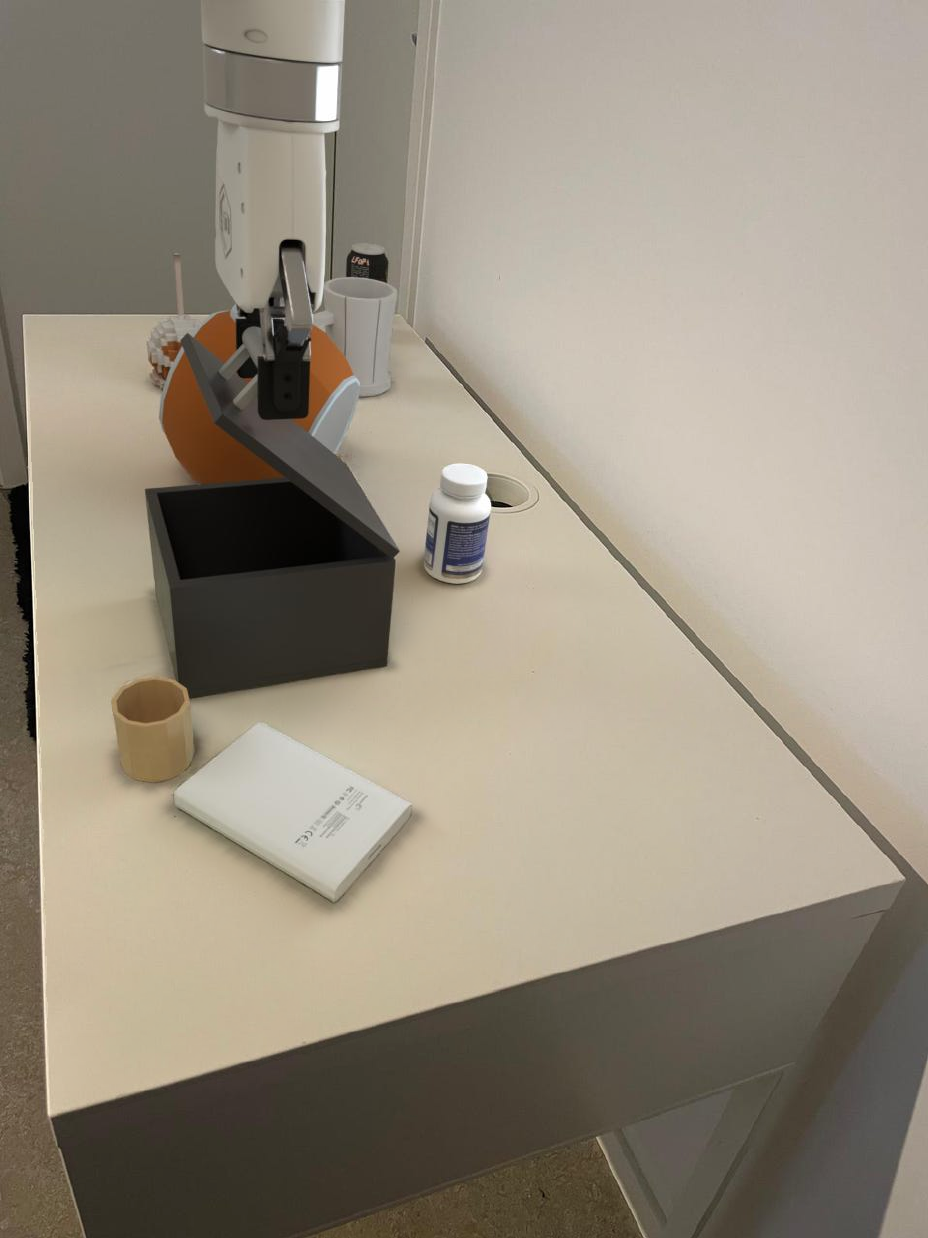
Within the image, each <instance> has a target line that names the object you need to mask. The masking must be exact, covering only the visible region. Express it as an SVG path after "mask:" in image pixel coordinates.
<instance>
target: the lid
mask: <svg viewBox="0 0 928 1238" xmlns="http://www.w3.org/2000/svg"><path fill="white" fill-rule="evenodd" d="M242 341H243V344H242V345H241V346H240V347H239V349H238V350H237V351H236V352H235V353H234V354H233V355H232V356H231V357H230V358H229V360H228V361H227V362H226V363H224V362H222V361H221V360H220V359H219V358H218V357H216V356H215V355H214V354H213V353H212V352H210V351H209V350H208V349H207V348H205V347H204V346H203V345H202V344H201V343H199V342H198V341H197V340H196V339H195V338H193V337H192V336H191V335H190V334H189V333H187V334H186V335H185V336H184V337H183V338H182V339H181V340H180V342H181V344H182V347H183V349H184V351H185V354H186V356H187V359H188V361H189V363H190V366H191V368H192V371H193V373H194V376H195V378H196V380H197V383H198V385H199V388H200V390H201V393H202V395H203V397H204V400H205V402H206V405H207V407H208V409H209V412H210V414H211V417H212V419H213V422H214V424H216V425H217V426H218V427H220V428H221V429H222V430H224V431H225V432H226V433H228V434H229V435H230V436H232V437H233V438H234V439H235V440H237V441H238V442H239V443H241V444H242V445H243V446H245V447H246V448H247V449H249V450H250V451H251V452H253V453H254V454H255V455H256V456H258V457H259V458H260V459H262V460H263V461H264V462H266V463H267V464H268V465H270V466H271V467H272V468H274V469H275V470H276V471H278V472H279V473H280V474H281V475H283V476H284V477H285V478H287V479H288V480H289V481H291V482H292V483H293V484H295V485H296V486H297V487H299V488H300V489H301V490H302V491H304V492H305V493H306V494H308V495H309V496H310V497H312V498H313V499H314V500H316V501H317V502H318V503H320V504H321V505H322V506H323V507H325V508H326V509H327V510H329V511H330V512H331V513H333V514H334V515H335V516H337V517H338V518H339V519H341V520H342V521H343V522H344V523H346V524H347V525H348V526H350V527H351V528H352V529H354V530H355V531H356V532H358V533H359V534H360V535H362V536H363V537H364V538H366V539H367V540H368V541H369V542H371V543H372V544H373V545H375V546H376V547H377V548H379V549H380V550H381V551H383V552H384V553H385V554H387V555H388V556H389V557H390V558H392V559H393V558H394V559H395V557H397V555H399V554H400V553H401V550H400V549H399V547H398V546H397V544H396V542H395V541H394V539H393V537H392V536H391V534H390V533H389V531H388V529H387V527H386V526H385V525H384V522H383V521H382V520H381V518H380V516H379V515H378V513H377V511H376V509H375V508H374V506H373V505H372V503H371V502H370V500H369V499H368V497H367V495H366V493H365V491H364V490H363V489H362V487H361V486H360V484H359V482H358V481H357V479H356V477H355V476H354V474H353V472H352V471H351V469H350V467H349V466H348V464H347V463H346V462H345V461H344V460H342V459H341V458H340V457H339V456H338V455H335V454H334V453H332V452H331V451H330V450H329V449H328V448H326V447H325V446H324V445H323V444H322V443H320V442H319V441H318V440H317V439H316V438H314V437H313V436H312V435H311V434H309V433H308V432H307V431H306V430H305V429H303V428H302V427H301V426H300V425H299V424H297V423H296V422H295V421H294V420H293V419H277V420H263V419H261V418H260V416H259V414H258V374H257V375H256V376H255V377H254V378H253V379H252V380H251V381H250V382H249V383H248V382H247V381H245V380H244V379H243V378H240V377H239V375H238V374H237V373H236V371H237V370H238V369H239V368H240V367H241V365H242V364H243V363H244V362H245V361H246V360H247V359H248V358H249V357H250V356H251V358H252V360H253V362H254V363H255V365H256V367H257V369H258V357H257V356H263V349H262V337H261V328H259V327H254V326H253V327H249V328H247V329H246V330H245V331H244V333H243V335H242Z"/></svg>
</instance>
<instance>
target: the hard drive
mask: <svg viewBox="0 0 928 1238" xmlns="http://www.w3.org/2000/svg"><path fill="white" fill-rule="evenodd" d="M173 803H174V807H175V808H178V809H180V810H181V811H182V812H185V813H186V814H187V815H189V816H191V817H193V818H194V819H196V820H198V821H199V822H201V823H202V824H204V825H206V826H207V827H209V828H211V829H213V830H214V831H216V832H218V833H219V834H220V835H222V836H224V837H225V838H227V839H229V840H230V841H232V842H234V843H235V844H237V845H239V846H240V847H242V848H244V849H246V850H247V851H248V852H251V854H254V855H255V856H257V857H258V858H259V859H261V860H263V861H265V862H267V863H268V864H271V865H272V866H273V867H274V868H277V869H278V870H280V871H282V872H283V873H285V874H286V875H288V876H289V877H291V878H293V879H294V880H296V881H298V882H299V883H301V884H302V885H304V886H306V887H308V888H309V889H311V890H313V891H315V892H316V893H318V894H320V896H322V897H323V898H325V899H327V900H329V901H331V902H332V903H336V902H337V901H338V900H339V899H341V897H343V895H344V894H345V893H346V892H347V891H348V889H349V888H350V887H351V886H352V885H353V884H354V883H355V882H356V880H357V879H358V878H360V876H361V875H362V874H363V873H364V871H365V870H366V869H367V868H368V867H369V865H370V864H371V863H372V862H373V861H374V860H375V859H376V858H377V856H378V855H379V854H380V853H381V852H382V851H383V849H385V847H386V846H387V845H388V844H389V843H390V842H391V840H392V839H393V838H394V837H395V836H396V834H398V832H399V831H400V830H401V829H402V827H404V826H405V824H406V823H407V822H408V821H409V818H410V817H411V816H412V815H411V814H412V807H413V804H412V803H410V801H407V800H405V799H403V798H402V797H401V796H398V795H396V794H394V793H392V792H390V791H389V790H387V789H386V788H383V787H381V786H379V785H378V784H376V783H374V782H373V781H370V780H368V779H367V778H365V777H363V776H362V775H359V774H358V773H356V772H354V771H352V770H350V769H348V768H347V767H345V766H343V765H341V764H339V763H337V762H335V761H334V760H332V759H330V758H328V757H326V756H324V755H323V754H321V753H319V752H317V751H316V750H314V749H312V748H310V747H308V746H306V745H304V744H303V743H301V742H299V741H297V740H296V739H294V738H291V737H290V736H288V735H286V734H285V733H282V732H281V731H278V730H277V729H275V728H273V727H271V726H269V725H268V724H266V723H263V722H261V721H259V722H257V723H255V724H253V726H251V727H250V728H249V729H247V730H246V731H245V732H244V733H243V734H241V736H239V737H238V738H236V739H235V741H233V742H232V743H230V744H229V745H228V746H227V747H225V749H223V750H222V751H221V752H220V753H218V754H217V755H216V756H215V757H214V758H212V759H211V760H210V761H209V762H207V763H206V764H205V765H203V766H202V767H201V768H200V769H199V770H197V771H196V772H195V773H194V774H193V775H191V776H190V777H189V778H188V779H186V780H185V781H184V782H183V783H182V784H181V785H180V786H178V787H177V788H176V789H175V790H174V791H173Z"/></svg>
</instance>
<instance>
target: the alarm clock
mask: <svg viewBox="0 0 928 1238" xmlns="http://www.w3.org/2000/svg"><path fill="white" fill-rule="evenodd" d="M281 306H285V304H284V303H281ZM236 319H245V317H238V315H237V309H236V303H234V305H232V308H231V309H230V310H227V309H226V310H221V311H216V312H211V314H209V315H208V316H207V317H206V318H205V319H203V320H202V321H200V322H201V323H200V324H198V325H197V326H196V328H195V329H194V331H193V332H192V333H191V336H192V337H193V338H195V339H196V340H197V341H198V342H199V343H201V344H202V345H203V346H204V347H205V348H207V349H208V350H209V351H210V352H212V353H213V354H214V355H215V356H216V357H218V358H219V359H220V360H221V361H222V362H224V363H226V362H227V361H228V360H229V358H230V357H231V356H232V355H233V354H234V353H235V352H236ZM273 319H283V320H284V319H285V318H273ZM284 326H285V324H284ZM310 338H311V341H310V347H311V359H310V387H309V413H308V416H307V417H305V418H301V419H293V420H294V421H295V422H296V423H297V424H299V425H300V426H301V427H302V428H303V429H305V430H306V431H307V432H308V433H309V434H311V435H312V436H313V437H314V438H316V439H317V440H318V441H319V442H320V443H322V444H323V445H324V446H325V447H326V448H328V449H329V450H330V451H331V452H332V453H334V454H335V455H336V454H337V453H338V451H339V449H340V447H341V445H342V444H343V441H344V439H345V437H346V434H347V433H348V430H349V427H350V425H351V423H352V420H353V417H354V414H355V411H356V408H357V405H358V402H359V388H360V382H359V381H358V379H357V378H356V377H355V376H354V374H353V372H352V370H351V367H350V365H349V363H348V361H347V360H346V358H345V357H344V355H343V354H342V352H341V351H340V350H339V349H338V348H337V346H336V345H335V344H334V343H333V341H332V340H331V339H330V338H329V337H328V335H327V334H326V331H323V330H322V329H319V328H318V327H316V326H315V325H314V324H313V328H312V331H311V335H310ZM236 373H237V371H236ZM237 374H238V373H237ZM243 379H244V380H245V381H247V382H248V383H249V382H250V381H251V380H252V379H253V378H243ZM159 401H160V402H159V412H158V420H159V424H160V426H161V429H162V433H163V434H164V435H165V436H166V439H167V441H168V443H169V445H170V448H171V451H172V452H173V455H174V457H175V459H176V460H177V462H178V463H179V465H180V466H181V467H182V468H183V469H184V470H185V471H186V473H187V474H188V475H189V476H190V478H191V479H193V480H194V481H195V482H196V483H198V484H210V483H223V482H235V481H248V480H260V479H273V478H285V477H284V476H283V475H281V474H280V473H279V472H278V471H276V470H275V469H274V468H272V467H271V466H270V465H268V464H267V463H266V462H264V461H263V460H262V459H260V458H259V457H258V456H256V455H255V454H254V453H253V452H251V451H250V450H249V449H247V448H246V447H245V446H243V445H242V444H241V443H239V442H238V441H237V440H235V439H234V438H233V437H232V436H230V435H229V434H228V433H226V432H225V431H224V430H222V429H221V428H220V427H218V426H217V425H216V424H214V422H213V419H212V417H211V414H210V412H209V409H208V407H207V405H206V402H205V400H204V397H203V395H202V393H201V390H200V388H199V385H198V383H197V380H196V378H195V376H194V373H193V371H192V368H191V366H190V363H189V361H188V359H187V356H186V354H185V351H184V349H183V347H181V349H180V351H179V353H178V355H177V357H176V359H175V361H174V363H173V365H172V367H171V369H170V371H169V373H168V376H167V379H166V382H165V386H164V388H162V392H161V394H160V400H159ZM336 456H337V455H336Z"/></svg>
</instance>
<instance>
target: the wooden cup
mask: <svg viewBox="0 0 928 1238" xmlns="http://www.w3.org/2000/svg"><path fill="white" fill-rule="evenodd" d="M111 709H112V715H113V722H114V730H115V735H116V741H117V748H118V754H119V761H120V766H121V768H122V770H123V771H124V773H125V774H126V775H128V776H129V777H130V778H132V779H134V780H137V781H141V782H145V783H159V782H165V781H169V780H171V779H173V778H175V777H178V776H179V775H181V774H182V773H183V772H185V771H186V770H187V769H188V767H189V766H191V764H192V761H193V759H194V754H195V745H194V735H193V733H194V732H193V723H192V711H191V699H189V695H188V691H187V688H185V687H184V686H183V685H181V684H180V683H178V682H177V681H176V680H175V678H174V679H172V678H167V677H162V676H155V675H154V676H150V677H143V678H137V679H134V680H133V681H130V682H128V683H127V684H125V685H123V686H121V687H119V689H118V690H117V692H116V693H115V694H114V696H113V698H112V699H111Z"/></svg>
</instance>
